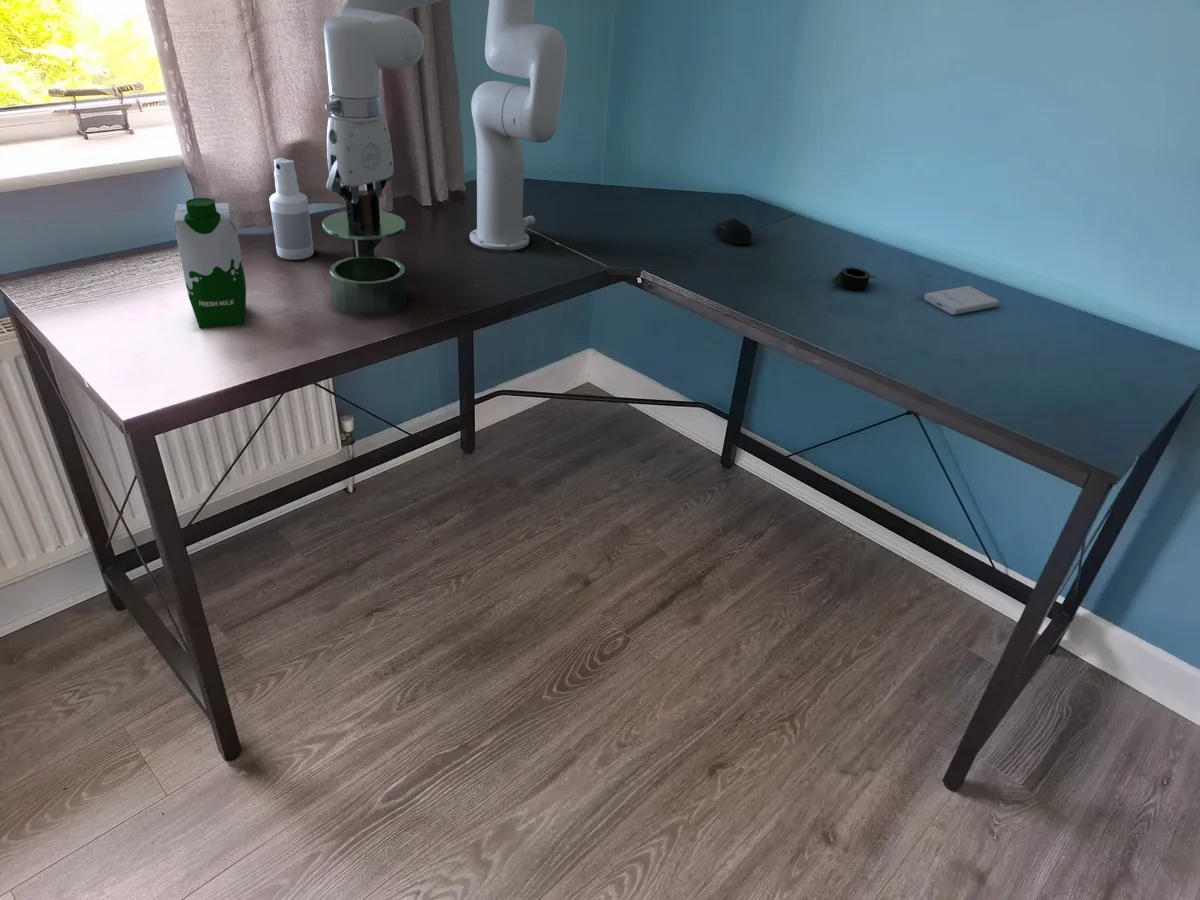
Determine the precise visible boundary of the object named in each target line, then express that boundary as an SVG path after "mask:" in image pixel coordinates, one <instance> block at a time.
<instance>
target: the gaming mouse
mask: <svg viewBox="0 0 1200 900" xmlns="http://www.w3.org/2000/svg"><path fill="white" fill-rule="evenodd" d="M716 232H717V233H718V234H719V236H720V237H721V239H722V240H723V241H725V242H727V243H729V244H735V245H746V244H749V243H751V242H752V232H751V230H750V228H749V226H748V225H747V224H745V223H743V222H742V221H740V220H738V219H736V218H728V219H727V220H725V221H722V222H719V223H718V225H717V227H716Z"/></svg>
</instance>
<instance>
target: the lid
mask: <svg viewBox="0 0 1200 900" xmlns="http://www.w3.org/2000/svg"><path fill="white" fill-rule="evenodd" d="M359 202H360V203H362V209H363V222H364V225H363V227H358V226H355V225H352V224H350V223H348V218H347V210H344V211H339V212H335V213H332V214H329V215H328V216H326V217H325V218H323V220H322V223H321V224H322V229H323V230H324V231H325V233H326V234H329V235H331V236H334V237H337V238H341V239H346V240H352V239H353V240H376V239H382V240H383V239H389V238H392V237H395V236H397V235H399V234H401V233H403V232H404V231H405V230H406V221H405V220H404V219H403V218H402V217H401V216H400V215H397V214H395V213H392V212H387V211H382V210H380V222H374V221H373V217H372V203H371V193H370V192H369V191H365V189H363V190H361V189H359Z"/></svg>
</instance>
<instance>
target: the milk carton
mask: <svg viewBox="0 0 1200 900" xmlns="http://www.w3.org/2000/svg"><path fill="white" fill-rule="evenodd" d="M231 209H232V208H231V205H230V203H229V202H216V201H215V200H214V199H212V198H208V197H198V198H197V197H196V198H195V197H194V198H191V199H188V200H186V202H185V203H184V204H183V203H181V204H180V203H179V204H177V205H176V209H175V213H174V231H175V234H176V244H177V248H178V255H179V259H180V263H181V268H182V272H183V278H184V282H185V287H186V291H187V296H188V299H189V302H190V306H191V308H192V311H193V314H194V317H195V320H196V323H197V326H198V328H199V329H207V328H209V329H210V328H220V327H221V328H222V327H231V326H232V327H234V326H246V315H247V314H246V309H247V308H246V307H247V283H246V275H245V270H244V264H243V263H244V262H243V258H242V257H243V256H242V252H241V246H240V239H239V234H238V227H237V223H236V220H235V216H234V215H233V212H232V210H231Z"/></svg>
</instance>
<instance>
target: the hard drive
mask: <svg viewBox="0 0 1200 900" xmlns="http://www.w3.org/2000/svg"><path fill="white" fill-rule="evenodd" d="M923 300H924V301H925V302H927V303H929V304H931V305H932V306H934V307H937V308H938V309H941V310H942V311H944V312H946V313H948V314H950V315H952V316H955V315H961V314H967V313H972V312H976V311H982V310H988V309H993V308H997V307H998V305H999V303H1000V301H999V300H998V299H997V298H995V297H993V296H991V295H989V294H986V293H984V292H983V291H980V290H979V289H976V288H974V287H973V286H971V285H966V286H960V287H954V288H949V289H948V288H947V289H943V290H936V291H932V292H927V293H926V292H925V293H924V296H923Z"/></svg>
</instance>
